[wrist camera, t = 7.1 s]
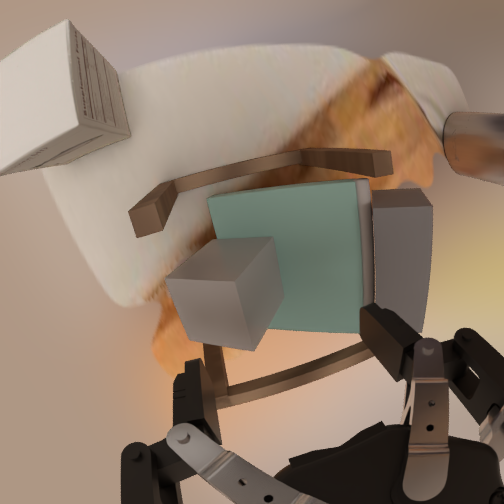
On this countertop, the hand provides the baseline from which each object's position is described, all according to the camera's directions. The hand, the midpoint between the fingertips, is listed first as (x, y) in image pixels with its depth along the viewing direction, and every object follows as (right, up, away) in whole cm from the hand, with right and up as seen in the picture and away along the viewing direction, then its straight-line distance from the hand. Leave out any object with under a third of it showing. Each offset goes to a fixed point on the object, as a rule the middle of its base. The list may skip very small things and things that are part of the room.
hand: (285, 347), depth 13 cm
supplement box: (-17, +17, +8) cm, 25 cm away
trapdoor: (+4, +5, +9) cm, 11 cm away
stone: (-2, +3, +9) cm, 10 cm away
